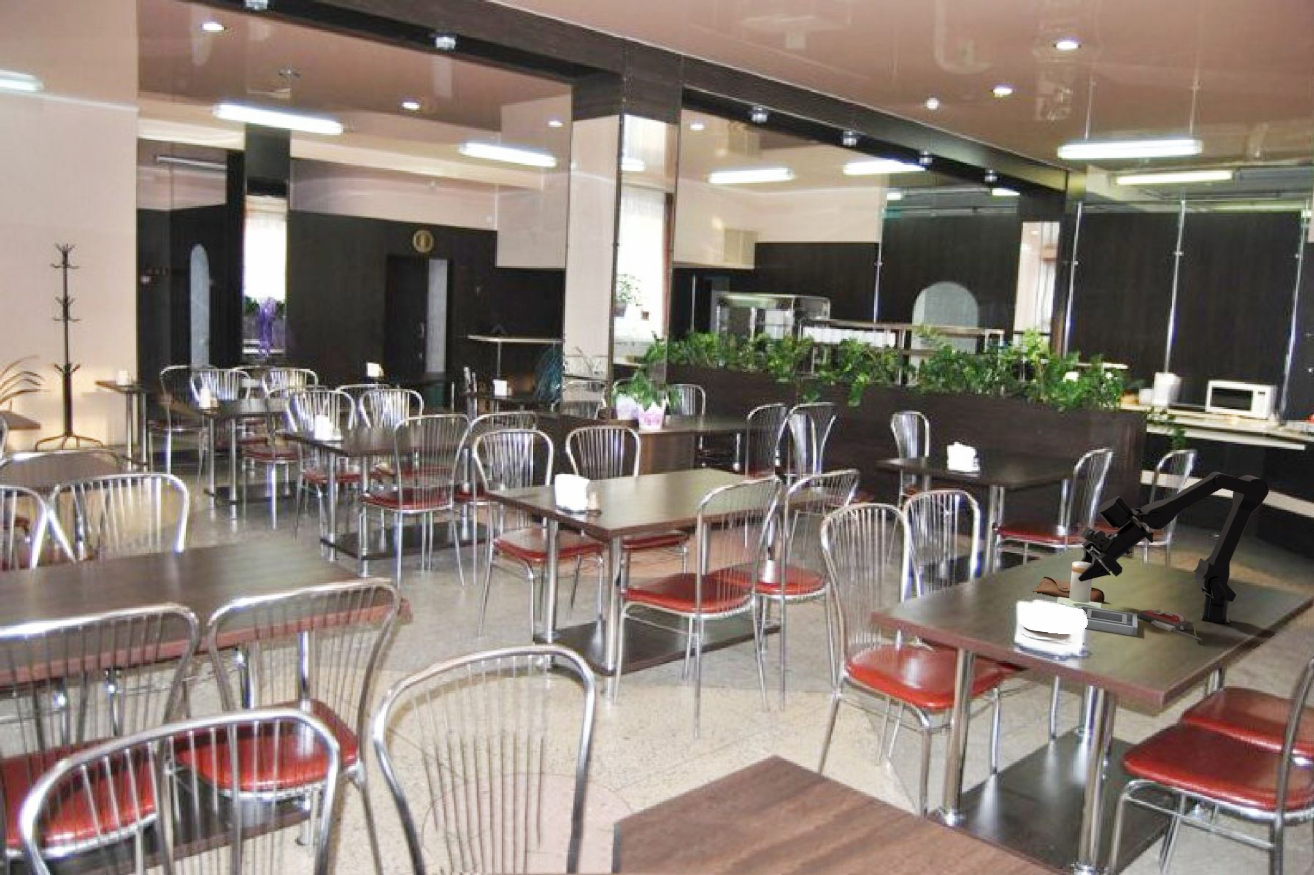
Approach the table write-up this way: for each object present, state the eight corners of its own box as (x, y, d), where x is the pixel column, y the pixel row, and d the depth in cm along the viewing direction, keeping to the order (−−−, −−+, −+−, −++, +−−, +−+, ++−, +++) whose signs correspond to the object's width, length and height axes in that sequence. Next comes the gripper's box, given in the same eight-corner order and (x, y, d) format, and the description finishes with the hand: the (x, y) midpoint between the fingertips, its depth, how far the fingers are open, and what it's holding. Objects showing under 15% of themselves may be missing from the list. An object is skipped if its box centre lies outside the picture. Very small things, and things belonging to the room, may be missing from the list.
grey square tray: (1077, 616, 263) (1078, 604, 263) (1135, 625, 257) (1137, 613, 257) (1074, 630, 251) (1075, 618, 250) (1136, 640, 245) (1137, 628, 244)
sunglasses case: (1029, 591, 286) (1036, 570, 287) (1037, 600, 290) (1044, 579, 292) (1092, 606, 273) (1099, 584, 275) (1100, 615, 278) (1107, 593, 279)
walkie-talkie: (1126, 622, 261) (1198, 646, 243) (1128, 605, 260) (1200, 629, 243) (1149, 619, 265) (1221, 642, 247) (1150, 602, 264) (1223, 625, 247)
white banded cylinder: (1075, 596, 274) (1078, 560, 273) (1094, 601, 270) (1097, 564, 268) (1065, 598, 271) (1068, 562, 269) (1083, 603, 266) (1087, 567, 265)
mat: (1058, 600, 278) (1058, 596, 278) (1101, 606, 273) (1101, 603, 273) (1055, 610, 268) (1055, 606, 268) (1100, 617, 263) (1100, 613, 263)
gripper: (1093, 511, 276) (1047, 547, 279) (1113, 525, 258) (1065, 563, 260) (1120, 541, 276) (1074, 577, 279) (1143, 557, 257) (1094, 595, 260)
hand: (1076, 577), depth 270 cm, fingers closed on white banded cylinder, 5 cm apart
